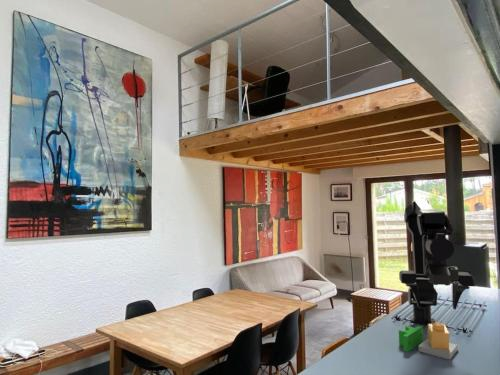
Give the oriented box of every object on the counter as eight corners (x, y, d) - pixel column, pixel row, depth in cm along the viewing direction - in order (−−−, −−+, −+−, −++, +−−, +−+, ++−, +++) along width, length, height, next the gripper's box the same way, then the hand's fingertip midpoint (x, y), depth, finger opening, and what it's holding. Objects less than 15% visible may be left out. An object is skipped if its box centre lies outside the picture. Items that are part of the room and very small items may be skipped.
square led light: (427, 338, 101) (427, 320, 100) (444, 339, 100) (444, 321, 99) (431, 347, 96) (431, 328, 96) (449, 349, 95) (449, 329, 94)
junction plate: (428, 341, 104) (427, 325, 104) (458, 349, 99) (457, 331, 99) (418, 351, 98) (417, 333, 98) (450, 359, 92) (449, 340, 93)
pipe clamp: (411, 338, 108) (410, 323, 108) (423, 341, 105) (422, 326, 105) (394, 348, 100) (394, 332, 101) (407, 352, 98) (406, 336, 98)
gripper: (403, 257, 95) (405, 314, 94) (480, 259, 89) (483, 319, 89) (398, 251, 105) (400, 302, 105) (467, 252, 100) (469, 306, 99)
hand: (436, 307), depth 99 cm, fingers open, 9 cm apart
